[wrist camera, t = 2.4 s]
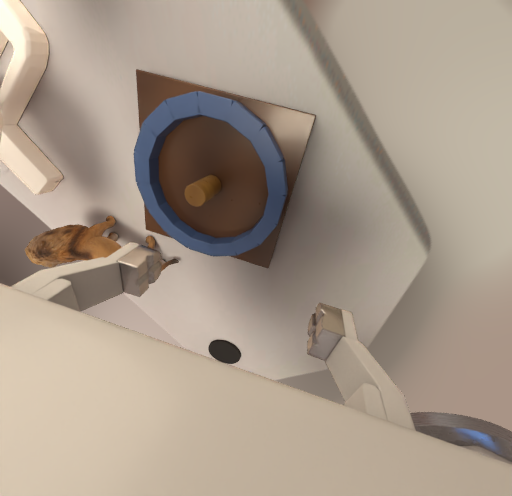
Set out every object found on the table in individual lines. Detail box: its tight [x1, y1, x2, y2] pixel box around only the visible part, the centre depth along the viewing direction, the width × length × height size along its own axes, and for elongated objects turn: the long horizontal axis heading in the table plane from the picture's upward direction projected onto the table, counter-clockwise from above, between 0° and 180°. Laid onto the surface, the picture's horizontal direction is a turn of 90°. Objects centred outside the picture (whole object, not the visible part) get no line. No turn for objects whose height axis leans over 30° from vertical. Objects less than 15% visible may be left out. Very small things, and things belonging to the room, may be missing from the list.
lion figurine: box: [25, 216, 179, 271], centre depth 28 cm, size 15×5×9 cm, turn 72°
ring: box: [134, 91, 288, 256], centre depth 22 cm, size 15×15×2 cm
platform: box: [136, 70, 316, 268], centre depth 22 cm, size 16×16×6 cm
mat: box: [209, 340, 241, 364], centre depth 40 cm, size 6×6×1 cm
